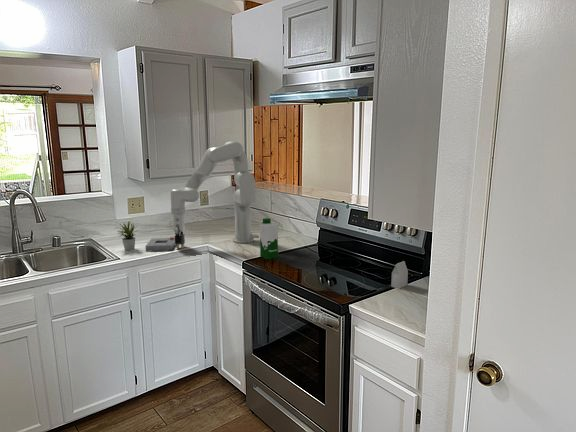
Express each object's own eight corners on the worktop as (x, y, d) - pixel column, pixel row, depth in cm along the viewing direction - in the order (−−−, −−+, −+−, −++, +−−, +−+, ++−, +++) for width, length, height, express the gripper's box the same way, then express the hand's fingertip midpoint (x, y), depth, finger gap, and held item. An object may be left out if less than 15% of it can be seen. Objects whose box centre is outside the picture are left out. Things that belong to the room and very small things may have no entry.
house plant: (115, 246, 247) (113, 219, 244) (140, 244, 252) (139, 217, 249) (115, 253, 234) (112, 223, 231) (141, 250, 239) (139, 221, 236)
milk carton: (271, 253, 231) (271, 217, 227) (281, 257, 223) (280, 219, 220) (257, 256, 226) (257, 219, 222) (267, 260, 218) (266, 221, 215)
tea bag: (407, 284, 182) (408, 262, 180) (399, 288, 177) (400, 265, 175) (399, 282, 184) (400, 260, 182) (391, 286, 179) (392, 263, 178)
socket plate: (176, 242, 257) (175, 236, 256) (171, 250, 239) (171, 243, 238) (152, 243, 255) (151, 237, 254) (145, 251, 238) (145, 244, 237)
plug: (185, 246, 247) (184, 234, 245) (184, 248, 243) (183, 235, 241) (176, 247, 246) (175, 234, 245) (175, 248, 242) (174, 235, 241)
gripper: (183, 213, 233) (184, 244, 236) (186, 208, 250) (187, 237, 252) (168, 213, 232) (170, 244, 235) (173, 208, 249) (174, 237, 252)
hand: (179, 240), depth 244 cm, fingers open, 9 cm apart
